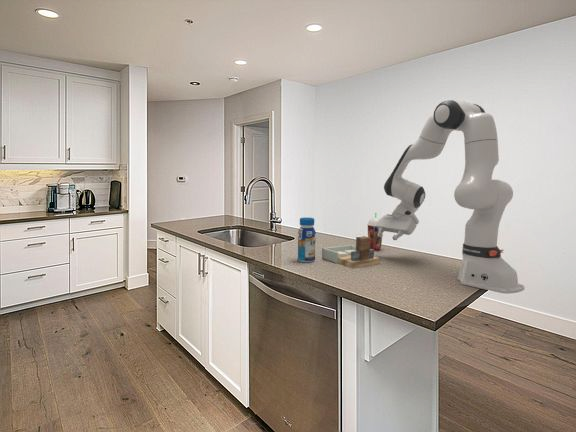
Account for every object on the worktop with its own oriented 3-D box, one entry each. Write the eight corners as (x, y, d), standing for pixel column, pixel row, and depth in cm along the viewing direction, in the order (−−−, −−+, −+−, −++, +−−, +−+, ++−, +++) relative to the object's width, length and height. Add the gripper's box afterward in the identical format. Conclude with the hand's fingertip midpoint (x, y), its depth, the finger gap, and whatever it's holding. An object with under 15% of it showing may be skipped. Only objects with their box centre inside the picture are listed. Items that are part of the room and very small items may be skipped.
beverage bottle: (299, 258, 176) (299, 216, 174) (316, 259, 174) (317, 217, 172) (295, 262, 168) (296, 219, 166) (314, 263, 166) (314, 219, 164)
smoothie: (382, 251, 192) (384, 213, 190) (366, 250, 194) (367, 213, 192) (382, 248, 200) (383, 212, 198) (366, 247, 202) (367, 211, 200)
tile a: (358, 257, 175) (358, 251, 175) (348, 258, 174) (348, 252, 174) (353, 255, 180) (353, 249, 180) (344, 256, 179) (344, 250, 178)
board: (379, 263, 167) (379, 258, 166) (352, 268, 158) (352, 262, 158) (364, 259, 175) (364, 254, 175) (338, 263, 167) (338, 257, 167)
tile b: (347, 259, 172) (347, 253, 172) (339, 260, 169) (339, 254, 169) (340, 257, 176) (340, 251, 176) (332, 258, 174) (332, 252, 173)
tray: (366, 259, 176) (366, 248, 175) (336, 263, 166) (336, 252, 166) (350, 254, 185) (351, 244, 184) (322, 258, 176) (322, 248, 175)
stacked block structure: (375, 258, 166) (375, 236, 165) (354, 261, 160) (355, 239, 158) (369, 257, 169) (370, 235, 168) (349, 260, 163) (350, 237, 161)
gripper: (382, 209, 181) (367, 230, 177) (415, 213, 164) (400, 236, 160) (388, 218, 184) (373, 239, 180) (422, 222, 167) (406, 245, 163)
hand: (386, 238), depth 170 cm, fingers open, 8 cm apart
